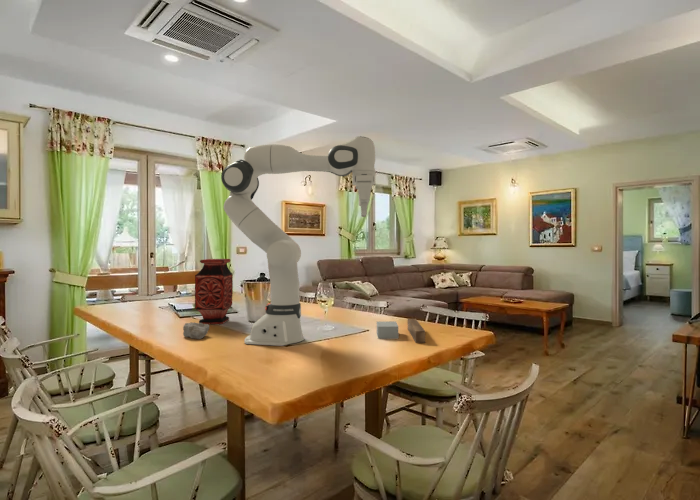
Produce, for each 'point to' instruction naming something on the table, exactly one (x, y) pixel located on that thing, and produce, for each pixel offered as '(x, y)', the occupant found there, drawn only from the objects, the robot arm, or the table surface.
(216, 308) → the vase
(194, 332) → the stone
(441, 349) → the table surface
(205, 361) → the table surface
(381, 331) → the block
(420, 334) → the dark brown bar
